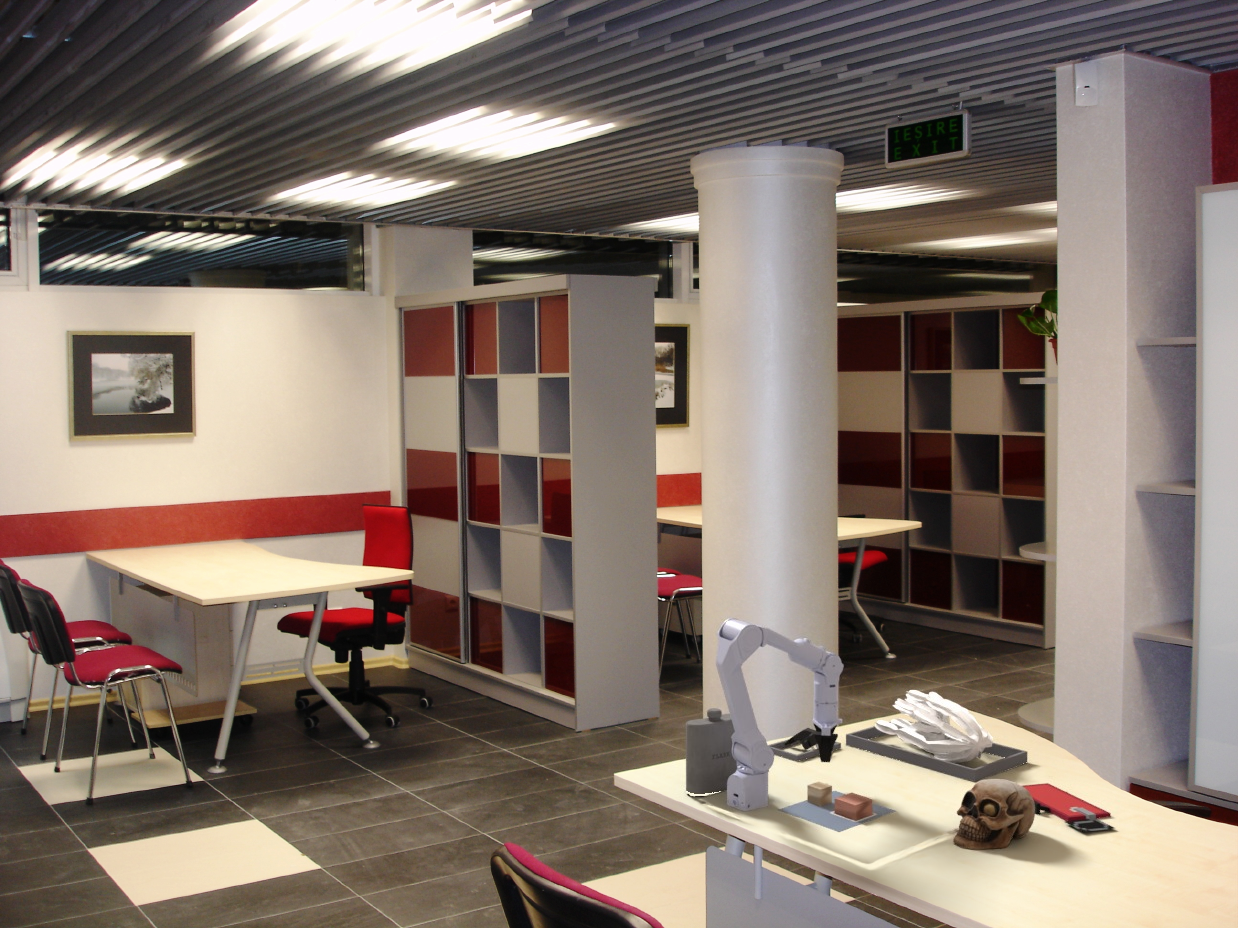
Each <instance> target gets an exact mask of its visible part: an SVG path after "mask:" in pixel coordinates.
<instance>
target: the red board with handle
mask: <svg viewBox="0 0 1238 928" xmlns="http://www.w3.org/2000/svg"><path fill="white" fill-rule="evenodd" d="M1022 786H1023V787H1024V788H1026V789H1027V790H1028V791H1029V793H1030V794H1031V796H1032V798H1033V801H1034V804H1035V816H1036V815H1037V816H1038V814H1039V815H1041V811H1042V812H1047V813H1051V814H1052V815H1054V816H1056V817H1058V818H1060V819H1062V820H1064V823H1065V824H1067V825H1069V826H1072V827H1074V828H1075V829H1077V830H1078V831H1081V832H1083V833H1084V832H1085V833H1086V832H1093V831H1102V830H1103V831H1105V830H1112V829H1114V830H1115V827H1114V826H1112V825H1110V824H1108V823H1106V822H1104V821H1103V820H1100V819H1103V818H1104V819H1105V818H1111V812H1109V811H1107V810H1105V809H1103V808H1100V807H1098V806H1096V805H1094V804H1092V803H1090V802H1088V801H1086V800H1084V799H1082V798H1080V797H1077V796H1076V795H1073V794H1072V793H1069V792H1067V791H1065V790H1063V789H1061V788H1059V787H1057V786H1055V785H1052V784H1051V783H1047V782H1045V783H1036V784H1026V785H1022ZM1097 818H1098V819H1097Z"/></svg>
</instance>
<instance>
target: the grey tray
mask: <svg viewBox="0 0 1238 928" xmlns="http://www.w3.org/2000/svg"><path fill="white" fill-rule="evenodd" d="M907 721H908V722H910V723H915V722H913V721H909V720H907ZM888 722H889V723H891V721H888ZM898 729H902V728H898ZM886 735H889V734H888V733H884V732H882V731H880V730H878V729H877V728H876V727H875V725H874V726H870V727H867V728H864V729H860V730H859V729H858V730H857V731H852V732H849V733H846V734H845V746H848V747H850V748H855V749H858V748H859V749H858V750H861V749H863V750H862V751H864V750H867V751H866V752H868V751H870V752H869V753H871V752H873V753H872V754H875V753H876V754H875V755H878V754H879V756H883V757H885V756H886V757H885V758H890V759H892V758H893V759H892V760H896V759H897V760H896V761H899V760H900V762H902V763H903V762H904V763H907V764H910V765H914V766H917V767H920V768H923V769H928V770H931V771H934V772H936V773H937V772H938V773H940V774H941V773H942V774H945V775H949V776H952V777H955V778H959V779H962V780H966V781H968V782H973V783H977V782H978V781H980V780H986V779H988V778H989V777H992V776H993V777H994V776H995V775H998V774H1000V772H1001V773H1003V772H1002V771H1004V772H1006V771H1009V770H1011V768H1012V769H1015V768H1017V767H1019V765H1020V766H1022V765H1021V764H1023V763H1025V764H1027V763H1028V751H1027V750H1023V749H1019V748H1015V747H1011V746H1007V745H1004V744H999V743H996V742H993V743H992V746H991V747H985V749H984V750H983V752H982V753H984V752H986V753H985V754H988V753H990V754H989V755H992V754H994V755H993V756H995V755H998V756H997V757H999V756H1001V759H998V760H994V761H992V762H989V763H986V764H983V765H980V766H977V767H976V768H971V767H969V766H966V765H961V764H958V763H951V762H947V761H944V760H940V759H937V758H934V757H932V756H929V755H925V754H922V753H919V752H914V751H911V750H907V749H904V748H900V747H897V746H894V745H889V744H886V743H882V742H879V741H875V740H872V739H871V738H873V739H876V738H879V737H882V736H886ZM875 737H876V738H875ZM868 739H869V740H868ZM949 739H950V738H949ZM1003 757H1005V758H1003ZM1026 762H1027V763H1026ZM1023 765H1024V764H1023ZM1016 766H1017V767H1016ZM1014 767H1015V768H1014ZM1008 769H1009V770H1008ZM1005 770H1006V771H1005ZM997 773H998V774H997Z"/></svg>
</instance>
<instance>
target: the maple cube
mask: <svg viewBox="0 0 1238 928" xmlns="http://www.w3.org/2000/svg"><path fill="white" fill-rule="evenodd" d="M832 792H833V785H832V784H827V783H826V782H821V781H816V782H813V783H810V784H807V797H806V800H807V802H809V803H812V804H815V805H818V806H820V807H821V806H824V805H827V804H830V803H832Z"/></svg>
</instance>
